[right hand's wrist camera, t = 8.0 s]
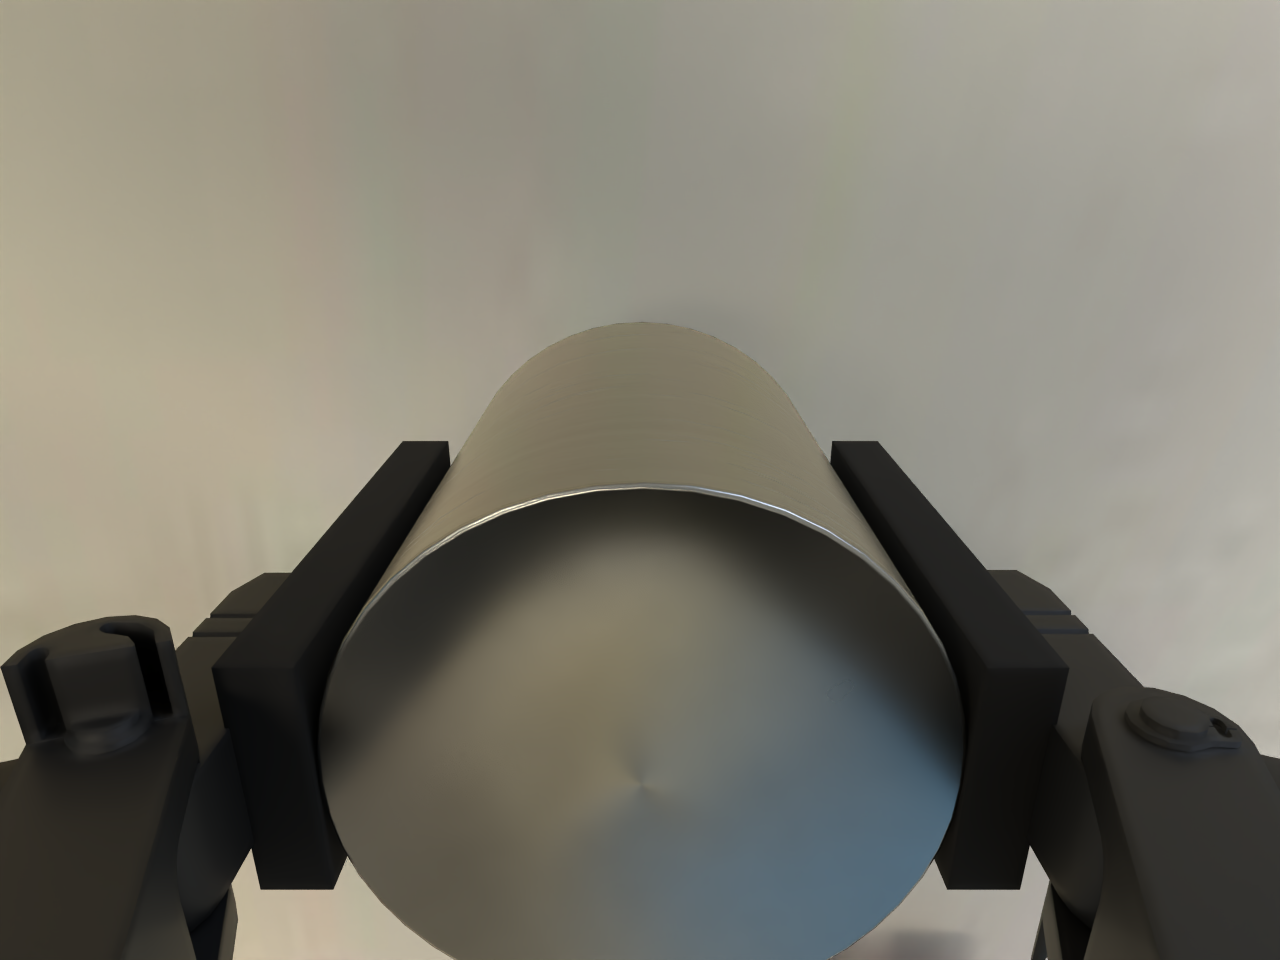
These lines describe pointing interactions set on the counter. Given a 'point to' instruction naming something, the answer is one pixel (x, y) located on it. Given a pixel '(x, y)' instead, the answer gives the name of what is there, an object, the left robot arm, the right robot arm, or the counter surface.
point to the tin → (641, 680)
